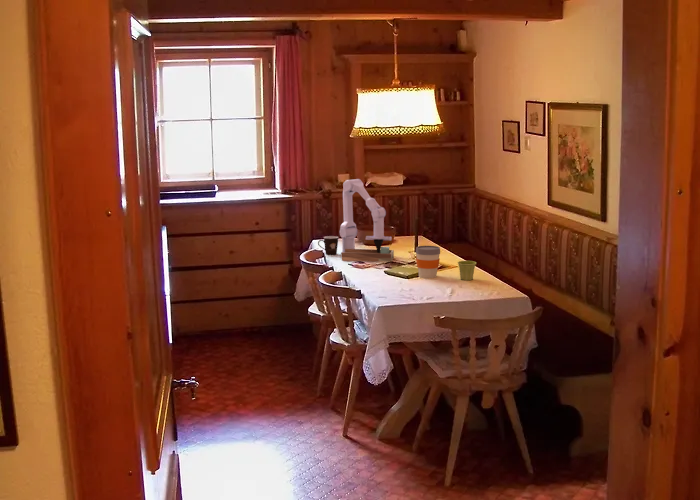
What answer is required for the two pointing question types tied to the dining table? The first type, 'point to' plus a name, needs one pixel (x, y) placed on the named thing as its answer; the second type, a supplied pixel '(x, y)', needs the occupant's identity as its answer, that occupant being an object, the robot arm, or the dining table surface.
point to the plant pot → (466, 269)
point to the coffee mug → (330, 245)
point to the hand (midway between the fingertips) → (378, 252)
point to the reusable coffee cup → (427, 261)
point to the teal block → (385, 250)
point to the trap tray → (366, 255)
